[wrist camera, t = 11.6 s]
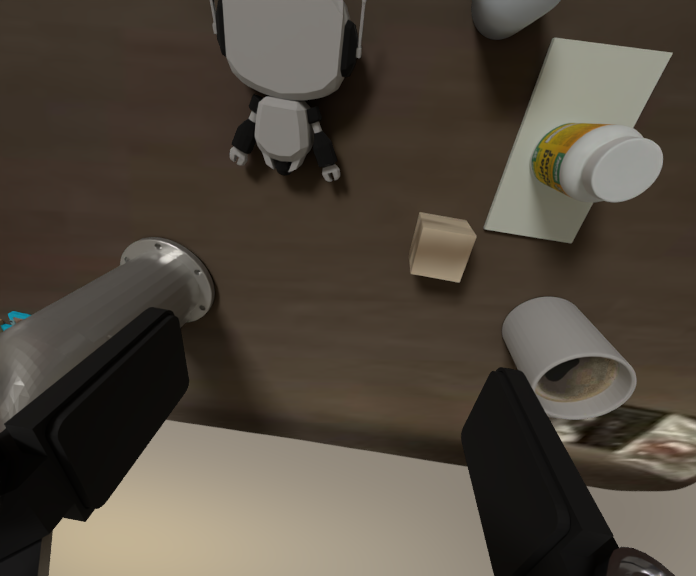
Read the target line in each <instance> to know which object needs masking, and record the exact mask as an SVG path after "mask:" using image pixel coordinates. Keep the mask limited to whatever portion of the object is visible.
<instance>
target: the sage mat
mask: <svg viewBox="0 0 696 576" xmlns="http://www.w3.org/2000/svg"><path fill="white" fill-rule="evenodd" d="M672 54H673V53H669V52H662V51H654V50H646V49H638V48H631V47H623V46H615V45H607V44H599V43H592V42H584V41H576V40H568V39H561V38H553V39H552V41H551V44H550V46H549V49H548V52H547V55H546V57H545V60H544V63H543V66H542V68H541V71H540V74H539V76H538V79H537V82H536V85H535V87H534V90H533V93H532V96H531V98H530V101H529V104H528V107H527V109H526V112H525V115H524V118H523V120H522V123H521V126H520V129H519V131H518V134H517V137H516V140H515V142H514V145H513V148H512V151H511V153H510V156H509V159H508V162H507V164H506V167H505V170H504V173H503V175H502V178H501V181H500V184H499V186H498V189H497V192H496V195H495V197H494V200H493V203H492V206H491V208H490V211H489V214H488V217H487V219H486V222H485V225H484V229H486V230H492V231H498V232H504V233H510V234H516V235H523V236H529V237H535V238H541V239H547V240H553V241H559V242H565V243H572V242H573V240H574V238H575V236H576V234H577V232H578V231H579V229H580V227H581V225H582V223H583V221H584V219H585V217H586V215H587V214H588V212H589V210H590V208H591V206H592V204H593V202H582V201H578V200H575V199H573V198H571V197H569V196H567V195H565V194H562V193H560V192H558V191H557V190H555V189H553V188H551V187H549V186H547V185H545V184H543V183H541V182H540V181H538V180H537V179H536V178H535V177H534V175H533V173H532V171H531V167H530V158H531V155H532V152H533V150H534V147H535V146H536V144H537V142H538V141H539V140H540V139H541V138H542V136H543V135H544V134H545V133H547V132H548V131H549V130H551V129H553V128H554V127H556V126H559V125H562V124H566V123H591V124H617V125H624V126H628V127H631V128H633V127H634V125H635V123H636V121H637V119H638V118H639V116H640V114H641V112H642V110H643V108H644V106H645V104H646V102H647V101H648V99H649V97H650V95H651V93H652V91H653V89H654V87H655V86H656V84H657V82H658V80H659V78H660V76H661V74H662V72H663V70H664V69H665V67H666V65H667V63H668V61H669V59H670V57H671V55H672Z"/></svg>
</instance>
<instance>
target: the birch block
mask: <svg viewBox="0 0 696 576" xmlns="http://www.w3.org/2000/svg"><path fill="white" fill-rule="evenodd" d="M476 237H477V236H476V235H475V233H474V232H473V230H472V228H471V227H470V225H469V224H468V222H467V221H466V220H461V219H456V218H450V217H444V216H438V215H432V214H427V213H421V212H420V213H419V217H418V221H417V225H416V229H415V232H414V236H413V240H412V244H411V248H410V252H409V262H410V272H411V274H415V275H420V276H426V277H431V278H437V279H442V280H448V281H453V282H459V283H460V280H461V278H462V275H463V272H464V269H465V267H466V264H467V261H468V259H469V256H470V253H471V250H472V248H473V245H474V242H475V240H476Z"/></svg>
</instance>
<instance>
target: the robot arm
mask: <svg viewBox="0 0 696 576" xmlns="http://www.w3.org/2000/svg"><path fill="white" fill-rule="evenodd" d="M214 296H215V291H214V284H213V281H212V278H211V276H210V274H209V272H208V270H207V269H206V267H205V266H204V264H203V263H202V262H201V261H200V260H199V259H198V258H197V257H196V256H195V255H194V254H193V253H192V252H191V251H189V250H188V249H187V248H185V247H183V246H182V245H180V244H178V243H176V242H173V241H171V240H168V239H164V238H157V237H149V238H144V239H141V240H139V241H136V242H134V243H133V244H131V245H130V246H128V247H127V248H126V250H125V251H124V252H123V254H122V257H121V262H120V266H119V267H117V268H115V269H113V270H112V271H110V272H108V273H106V274H104V275H103V276H101V277H99V278H97V279H96V280H94V281H92V282H90V283H88V284H87V285H85V286H83V287H81V288H79V289H78V290H76V291H74V292H72V293H70V294H69V295H67V296H65V297H63V298H61V299H60V300H58V301H56V302H54V303H53V304H51V305H49V306H47V307H45V308H44V309H42V310H40V311H38V312H36V313H35V314H33V315H31V316H29V317H27V318H26V319H24V320H22V321H20V322H18V323H16V324H15V325H13V326H11V327H10V328H8V329H6V330H4V331H3V332H1V333H0V576H48V575H49V564H50V554H51V542H52V531H53V529H54V528H55V527H56V525H57V524H58V523H59V522H60V520H61V519H62V518H63V517H64V518H68V519H73V520H78V521H84V522H86V520H87V519H88V518H89V516H90V515H91V514H92V512H93V511H94V509H98V508H100V507H102V506H103V505H104V504H105V503H106V501H107V500H108V499H109V498H110V496H111V495H112V493H113V492H114V491H115V489H116V488H117V486H118V485H119V484H120V482H121V481H122V480H123V478H124V477H125V475H126V474H127V473H128V471H129V470H130V468H131V467H132V466H133V464H134V463H135V461H136V460H137V459H138V457H139V456H140V455H141V453H142V452H143V450H144V449H145V448H146V446H147V445H148V444H149V442H150V441H151V439H152V438H153V437H154V435H155V434H156V432H157V431H158V430H159V428H160V427H161V426H162V424H163V423H164V421H165V420H166V419H167V417H168V416H169V414H170V413H171V412H172V410H173V409H174V408H175V406H176V405H177V403H178V402H179V401H180V399H181V398H182V397H183V395H184V394H185V392H186V391H187V388H188V385H189V377H188V371H187V365H186V359H185V352H184V346H183V340H182V334H181V327H182V326H183V325H184V324H185V323H186V322H192V321H195V320H198V319H199V318H201V317H203V316H204V315H205V314H206V313H207V312H208V311H209V309H210V308H211V306H212V304H213V301H214ZM461 440H462V445H463V449H464V453H465V457H466V462H467V466H468V470H469V474H470V478H471V482H472V486H473V490H474V494H475V499H476V503H477V507H478V511H479V515H480V519H481V524H482V527H483V532H484V536H485V540H486V544H487V548H488V552H489V556H490V561H491V565H492V569H493V573H494V576H675V575H674V574H673V573H671V572H670V571H669V570H668V569H667V568H666V567H665V566H663V565H662V564H661V563H660V562H658V561H657V560H655V559H654V558H652V557H651V556H649V555H647V554H646V553H644V552H641V551H639V550H636V549H634V548H629V547H620V548H619V547H618V545H617V543H616V541H615V539H614V538H613V534H612V532H611V530H610V528H609V527H608V525H607V523H606V521H605V519H604V517H603V516H602V514H601V512H600V510H599V509H598V507H597V505H596V503H595V501H594V499H593V498H592V496H591V494H590V492H589V490H588V489H587V487H586V485H585V483H584V481H583V479H582V478H581V476H580V474H579V472H578V470H577V469H576V467H575V465H574V463H573V461H572V459H571V458H570V456H569V454H568V452H567V450H566V449H565V447H564V445H563V443H562V441H561V440H560V438H559V436H558V434H557V432H556V430H555V429H554V427H553V425H552V423H551V421H550V420H549V418H548V416H547V414H546V412H545V410H544V409H543V407H542V405H541V403H540V401H539V400H538V398H537V396H536V394H535V392H534V391H533V389H532V387H531V385H530V383H529V381H528V380H527V378H526V376H525V374H524V373H523V372H522V371H520V370H514V369H508V368H503V367H500V368H498V369H497V370H496V371H492V372H491V373H490V374H489V376H488V378H487V380H486V382H485V384H484V386H483V388H482V390H481V392H480V395H479V397H478V399H477V401H476V403H475V405H474V407H473V409H472V411H471V413H470V415H469V417H468V419H467V421H466V423H465V425H464V427H463V429H462V433H461Z"/></svg>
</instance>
